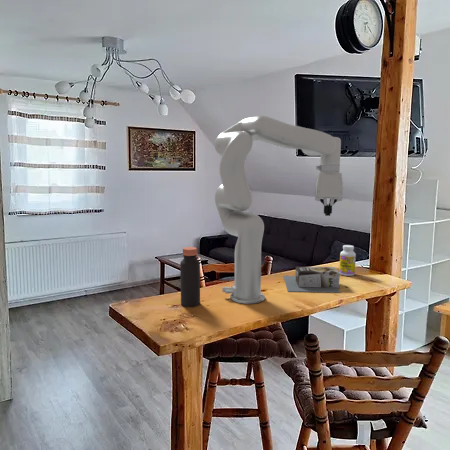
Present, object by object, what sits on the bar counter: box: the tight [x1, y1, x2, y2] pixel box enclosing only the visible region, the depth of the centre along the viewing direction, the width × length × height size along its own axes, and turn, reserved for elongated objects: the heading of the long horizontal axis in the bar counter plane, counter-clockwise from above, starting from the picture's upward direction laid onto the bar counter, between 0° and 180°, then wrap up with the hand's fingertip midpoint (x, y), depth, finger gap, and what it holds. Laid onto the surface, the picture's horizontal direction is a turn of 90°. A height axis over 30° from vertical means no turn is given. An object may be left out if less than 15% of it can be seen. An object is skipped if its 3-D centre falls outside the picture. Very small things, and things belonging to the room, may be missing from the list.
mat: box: [282, 275, 341, 294], centre depth 173 cm, size 20×22×1 cm
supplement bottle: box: [338, 244, 357, 277], centre depth 187 cm, size 7×7×13 cm
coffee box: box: [295, 266, 341, 289], centre depth 171 cm, size 9×6×16 cm
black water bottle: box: [179, 246, 201, 308], centre depth 147 cm, size 7×7×20 cm
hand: (327, 215), depth 169 cm, fingers closed
